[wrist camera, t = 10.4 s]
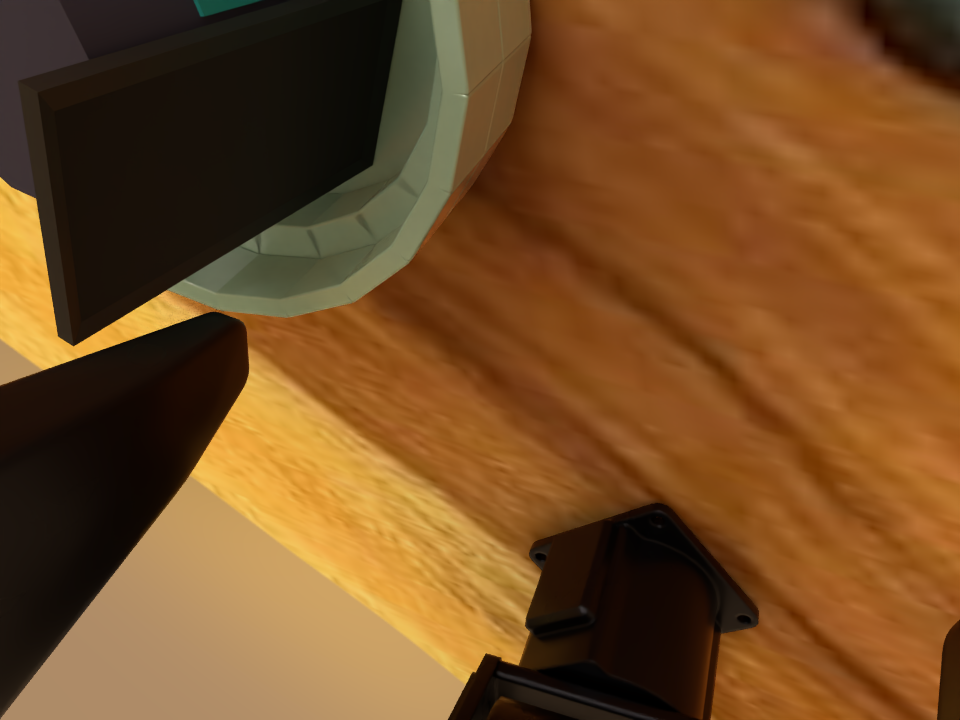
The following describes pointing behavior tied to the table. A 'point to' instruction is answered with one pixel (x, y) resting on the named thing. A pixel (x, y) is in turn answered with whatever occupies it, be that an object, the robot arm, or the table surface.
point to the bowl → (389, 167)
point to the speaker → (179, 130)
